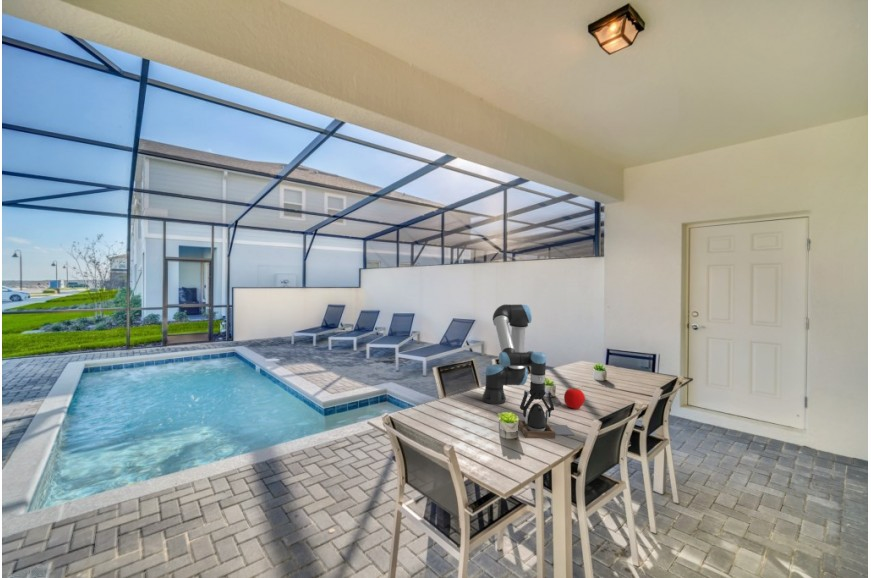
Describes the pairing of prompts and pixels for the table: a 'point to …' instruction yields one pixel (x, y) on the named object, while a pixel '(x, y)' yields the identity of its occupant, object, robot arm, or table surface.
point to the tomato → (574, 398)
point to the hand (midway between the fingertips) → (536, 422)
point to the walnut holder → (536, 434)
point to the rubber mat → (562, 430)
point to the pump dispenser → (536, 418)
